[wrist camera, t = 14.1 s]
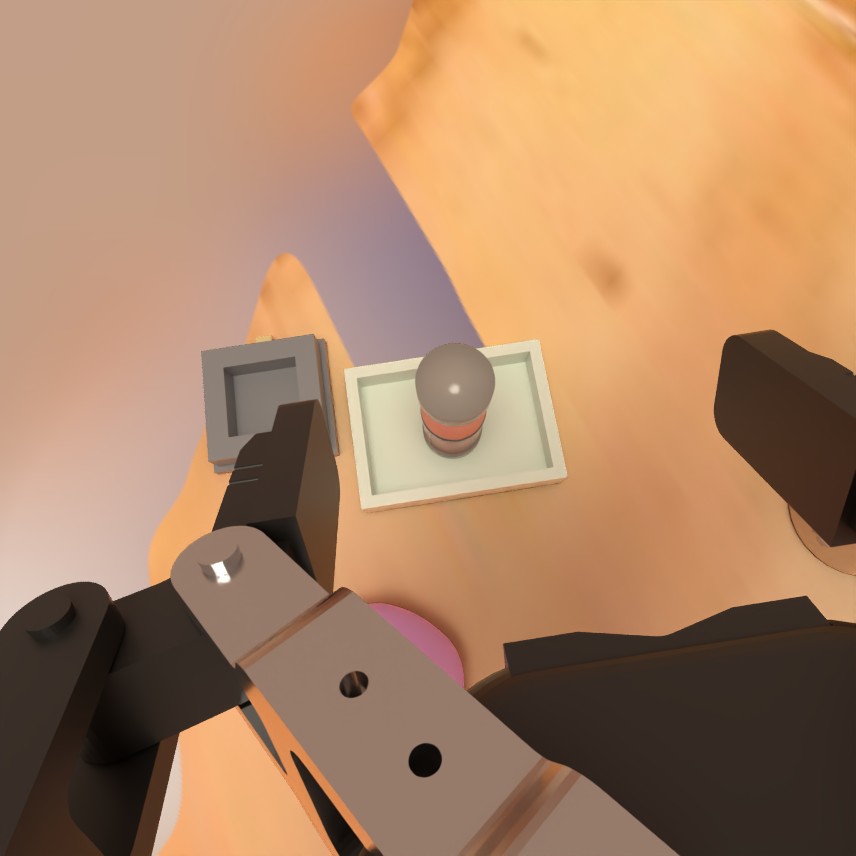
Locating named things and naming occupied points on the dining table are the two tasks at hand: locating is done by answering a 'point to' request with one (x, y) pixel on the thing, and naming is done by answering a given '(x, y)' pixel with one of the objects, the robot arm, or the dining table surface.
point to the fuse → (454, 398)
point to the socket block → (261, 391)
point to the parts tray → (464, 477)
